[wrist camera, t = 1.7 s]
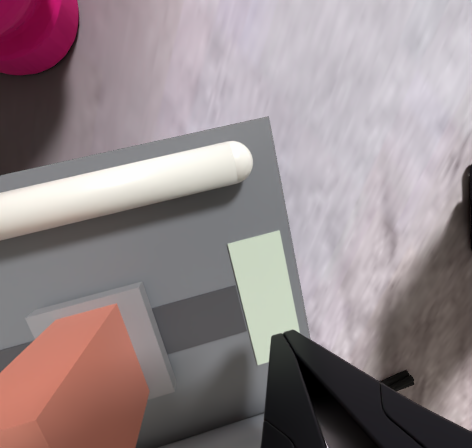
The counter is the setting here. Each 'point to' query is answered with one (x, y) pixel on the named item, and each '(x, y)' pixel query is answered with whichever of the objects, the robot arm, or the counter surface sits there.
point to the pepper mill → (35, 34)
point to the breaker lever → (85, 374)
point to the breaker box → (166, 266)
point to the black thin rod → (399, 381)
